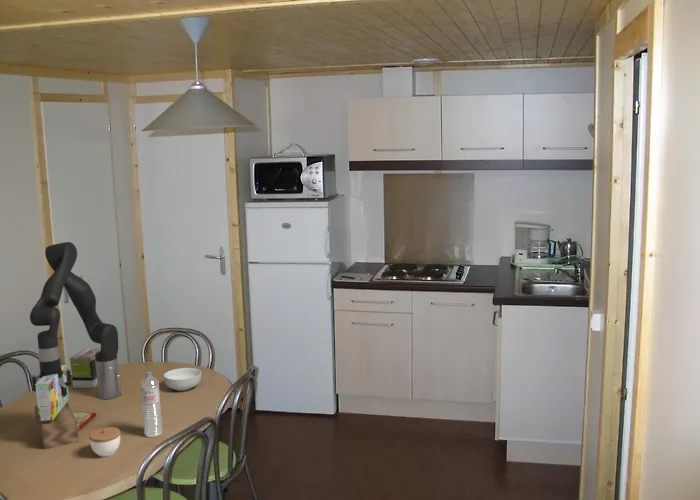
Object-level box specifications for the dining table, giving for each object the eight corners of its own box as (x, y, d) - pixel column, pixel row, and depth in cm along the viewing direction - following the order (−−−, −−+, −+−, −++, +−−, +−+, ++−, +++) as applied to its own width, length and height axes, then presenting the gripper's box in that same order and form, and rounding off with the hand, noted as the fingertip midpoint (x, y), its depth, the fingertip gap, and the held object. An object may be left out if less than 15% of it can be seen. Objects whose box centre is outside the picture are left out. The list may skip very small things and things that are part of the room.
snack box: (55, 400, 281) (52, 364, 278) (70, 399, 281) (67, 364, 279) (37, 422, 260) (34, 383, 257) (53, 421, 260) (50, 382, 258)
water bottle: (166, 431, 271) (161, 370, 267) (155, 438, 265) (151, 376, 261) (151, 429, 273) (146, 368, 269) (140, 436, 267) (135, 374, 263)
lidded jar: (91, 462, 247) (89, 437, 245) (89, 450, 256) (87, 426, 255) (123, 456, 251) (121, 431, 249) (120, 444, 260) (118, 420, 259)
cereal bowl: (209, 385, 320) (208, 370, 319) (183, 397, 307) (182, 381, 305) (183, 379, 329) (182, 365, 328) (156, 390, 316) (155, 375, 314)
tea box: (88, 376, 336) (86, 347, 334) (108, 377, 335) (105, 347, 332) (72, 388, 321) (69, 357, 319) (92, 388, 320) (89, 357, 317)
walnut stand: (67, 418, 286) (66, 400, 285) (78, 441, 264) (76, 421, 262) (36, 425, 280) (34, 406, 279) (44, 449, 258) (42, 428, 256)
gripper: (67, 352, 274) (71, 391, 276) (28, 358, 266) (32, 399, 269) (70, 357, 267) (74, 397, 270) (30, 363, 260) (34, 405, 263)
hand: (53, 398), depth 270 cm, fingers closed on snack box, 7 cm apart
